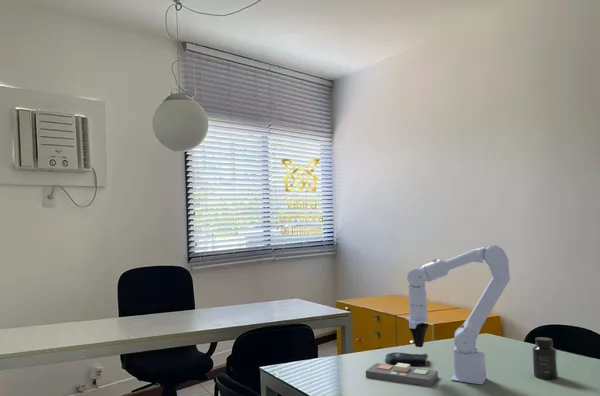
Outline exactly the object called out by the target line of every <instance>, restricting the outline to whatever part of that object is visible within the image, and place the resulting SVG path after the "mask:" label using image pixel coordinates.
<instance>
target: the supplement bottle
mask: <svg viewBox="0 0 600 396" xmlns="http://www.w3.org/2000/svg"><path fill="white" fill-rule="evenodd" d="M553 346H554V343H553V338H549V337H542V336H540V337H535V346H533V348H532V363H533V365H532V367H533V375H534V377H535V378H537V379H541V380H546V381H554V380H557V379H558V376H559V372H558V371H559V370H558V356H557V355H558V353H557V350H556V348H554V347H553Z"/></svg>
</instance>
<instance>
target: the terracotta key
mask: <svg viewBox="0 0 600 396" xmlns="http://www.w3.org/2000/svg"><path fill="white" fill-rule="evenodd" d="M380 364H381V365H380V366H379V367H377V369H382V370H391V369H392V368H393V366H389V365H390V364H388V365H382V364H383V363H380Z"/></svg>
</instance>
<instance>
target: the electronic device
mask: <svg viewBox="0 0 600 396" xmlns="http://www.w3.org/2000/svg"><path fill="white" fill-rule="evenodd" d="M428 355H429V354H428V353H427V352H426V353H422V354H420V353H419V354H418V353H406V352H389V353H387V354H386V355H385V359H384V361H385V362H387V363H388V364H389V365H396V364H397V363H404V364H410V366H419V365H420V366H424V365H425V367H428V358H429V356H428ZM387 363H386V364H387Z"/></svg>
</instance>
